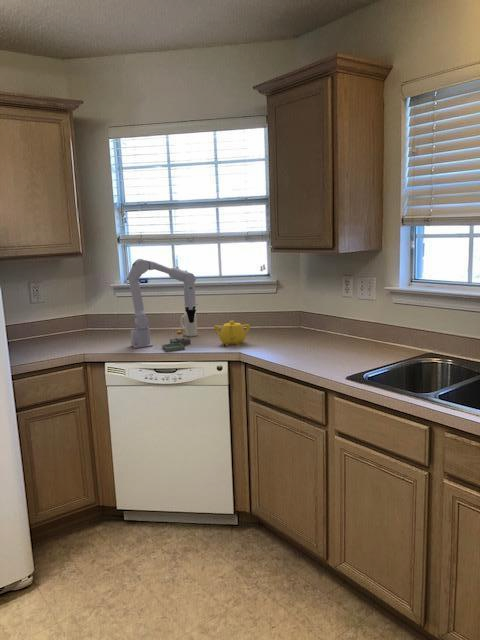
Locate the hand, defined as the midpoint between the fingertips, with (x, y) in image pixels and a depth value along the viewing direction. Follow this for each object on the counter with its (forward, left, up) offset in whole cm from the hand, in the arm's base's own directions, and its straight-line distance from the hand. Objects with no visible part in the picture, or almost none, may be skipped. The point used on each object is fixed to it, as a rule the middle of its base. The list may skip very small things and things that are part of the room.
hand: (191, 321), depth 286 cm
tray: (-14, -15, -10) cm, 23 cm away
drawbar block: (-8, -6, -10) cm, 14 cm away
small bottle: (-8, -6, -10) cm, 14 cm away
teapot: (+14, -23, -10) cm, 29 cm away
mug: (+2, +13, -10) cm, 17 cm away
